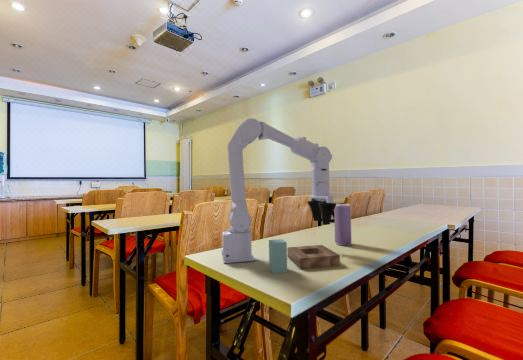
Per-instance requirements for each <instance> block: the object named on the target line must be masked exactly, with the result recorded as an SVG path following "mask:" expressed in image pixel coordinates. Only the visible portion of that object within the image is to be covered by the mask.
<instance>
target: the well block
mask: <svg viewBox="0 0 523 360" xmlns="http://www.w3.org/2000/svg"><path fill="white" fill-rule="evenodd" d="M287 259H289V260H290V261H291V262H292V263H293V264H294V265H295V266H296V267H297V268H298V269H299V270H305V269H306V270H307V269H317V268H319V269H320V268H327V267H339V266H341V256H340V254H339V253H337V252H335V251H334V250H332V249H330V248H328V247H327V246H325V245H323V244H318V245H317V244H316V245H302V246H300V245H299V246H287Z"/></svg>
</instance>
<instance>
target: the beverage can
mask: <svg viewBox="0 0 523 360" xmlns="http://www.w3.org/2000/svg"><path fill="white" fill-rule="evenodd" d="M333 213H334V215H333V216H334V243H335V244H336V245H337V246H345V247H347V246H350V245H352V207H351V204H349V203H336V207H335V208H334V210H333Z"/></svg>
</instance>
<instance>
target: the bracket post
mask: <svg viewBox="0 0 523 360" xmlns="http://www.w3.org/2000/svg"><path fill="white" fill-rule="evenodd" d="M287 247H288V244H287V241H286V240H284V239H283V238H279V239H276V238H275V239H268V258H269V259H268V260H269V261H268V263H269V264H268V265H269V267H268V268H269V270H270V272H271V273H272V274H279V273H287V272H288V257H287Z"/></svg>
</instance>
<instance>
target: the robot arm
mask: <svg viewBox="0 0 523 360" xmlns="http://www.w3.org/2000/svg"><path fill="white" fill-rule="evenodd" d="M257 138H258V141H263V140H271V141H272V142H276V143H278V144H280V145H283V146H285V147H288V148H290V151H291V153H292V154H294V155H297V156H299V157H301V158H304V159H306V160H308V161H309V162H310V163H311V191H312V193H311V194H309V199H310V200H308V201H307V202H306V203H307V205H308V206H309V208H310V211H311V214H312V215H311V216H312V220H313V222H319V221H321V222H322V225H324V226H325V225H330V224H331V221H332V216H333V213H334V208H335V207H336V204H337V203H336V202H335V201H334V200H335V198H334V196H333V194H330V162H331V161H332V158H333V154H332V152H331V150H330V149H329V148H328V147H327V146H320V145H319V143H317V142H315V143H314V142H312V141H310V140H307V137H306V136H302V137H301V136H297V137H295V138H294V137H292V136H290V135H288V134H286V133H284V132H283V131H281V130H279V129H277V128H275V127H273V126H271V125H269V124H268V123H266V122H265V121H259V120H258V119H256V118H252V117H251V118H247V119H245V120H244V121H243V122H242V123H240V124H239V125H238V127H237V129H236V131H235V132H234V133H233V135H232V137H231V138H230V140H229V142H228V143H227V160H228V173H229V185H230V186H229V189H230V212H229V215H228V220H229V222H230V224H231V225H230V227H229V228H228V230H227V231H222V235H221V236H222V237H221V238H222V244H221V246H222V249H221V256H222V260H223V263H224V264H230V263H232V264H233V263H241V262H242V263H243V262H253V261H254V262H255V257H254V255H253V254H252V252H253V251H252V250H253V249H252V246H253V245H252V227H251V226H252V218H251V217H252V216H250V213H249V210H248V204H247V198H246V196H247V195H246V183H245V170H244V169H245V168H244V156H243V153H244V152H243V150H244V149H245V148H247V146H248V145H249V144H252V143H254V142H255V141H256V139H257ZM334 202H335V203H334Z"/></svg>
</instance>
